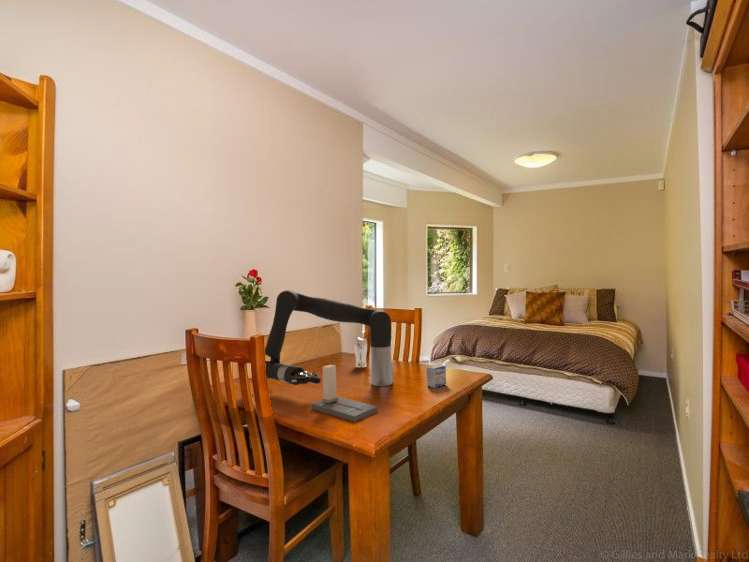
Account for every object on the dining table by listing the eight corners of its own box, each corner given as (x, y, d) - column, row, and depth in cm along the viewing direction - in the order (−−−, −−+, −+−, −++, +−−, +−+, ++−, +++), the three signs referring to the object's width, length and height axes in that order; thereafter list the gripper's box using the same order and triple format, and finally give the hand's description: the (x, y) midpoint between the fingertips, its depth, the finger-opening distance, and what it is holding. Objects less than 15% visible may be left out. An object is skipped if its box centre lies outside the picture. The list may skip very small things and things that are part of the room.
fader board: (334, 400, 155) (334, 395, 155) (377, 411, 141) (377, 406, 141) (311, 409, 145) (311, 403, 145) (355, 422, 131) (354, 415, 131)
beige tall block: (331, 397, 151) (330, 364, 150) (338, 399, 148) (337, 365, 148) (321, 401, 147) (320, 366, 146) (329, 403, 144) (328, 368, 144)
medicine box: (434, 388, 167) (433, 368, 166) (426, 386, 170) (426, 367, 170) (446, 385, 172) (446, 365, 171) (438, 383, 175) (438, 364, 175)
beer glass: (356, 368, 206) (355, 340, 206) (353, 365, 213) (352, 338, 213) (369, 367, 208) (368, 339, 208) (365, 364, 215) (365, 337, 215)
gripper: (277, 368, 157) (305, 374, 146) (302, 362, 167) (331, 367, 156) (277, 387, 157) (306, 394, 146) (303, 379, 167) (331, 386, 156)
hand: (319, 380), depth 151 cm, fingers closed
